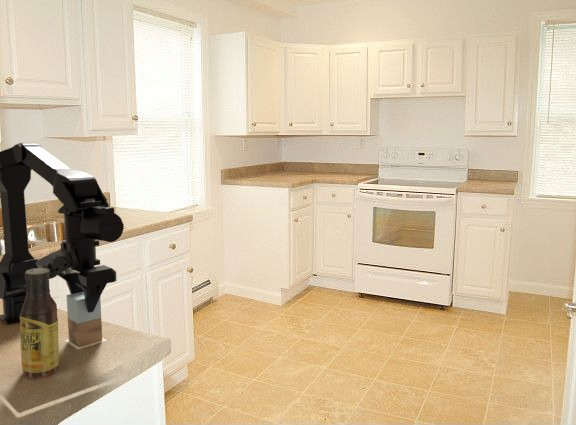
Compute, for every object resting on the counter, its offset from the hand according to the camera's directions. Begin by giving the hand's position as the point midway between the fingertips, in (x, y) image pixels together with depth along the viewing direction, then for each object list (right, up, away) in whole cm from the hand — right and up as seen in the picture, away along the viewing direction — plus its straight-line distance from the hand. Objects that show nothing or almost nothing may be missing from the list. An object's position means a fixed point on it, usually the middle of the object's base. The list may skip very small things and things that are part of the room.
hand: (84, 308), depth 106 cm
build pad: (0, -8, +1) cm, 8 cm away
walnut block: (0, -7, +1) cm, 7 cm away
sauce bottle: (-3, -10, -13) cm, 16 cm away
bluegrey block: (0, -2, 0) cm, 2 cm away
